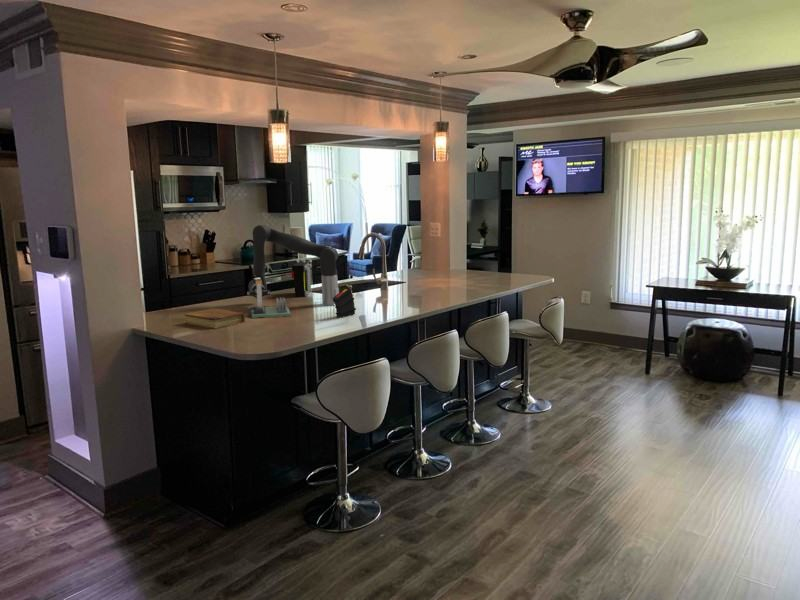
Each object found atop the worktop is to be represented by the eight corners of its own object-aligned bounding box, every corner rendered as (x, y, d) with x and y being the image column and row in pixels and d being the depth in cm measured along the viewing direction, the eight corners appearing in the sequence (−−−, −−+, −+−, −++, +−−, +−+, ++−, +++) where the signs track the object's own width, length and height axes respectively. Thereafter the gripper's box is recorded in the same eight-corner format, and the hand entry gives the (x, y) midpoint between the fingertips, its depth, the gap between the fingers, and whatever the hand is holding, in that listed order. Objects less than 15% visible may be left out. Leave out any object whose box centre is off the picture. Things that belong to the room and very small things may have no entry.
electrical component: (308, 297, 382) (306, 265, 378) (291, 297, 382) (290, 265, 378) (312, 292, 399) (311, 262, 395) (297, 292, 399) (296, 262, 396)
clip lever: (252, 311, 327) (250, 279, 324) (263, 310, 329) (262, 279, 326) (252, 312, 323) (251, 281, 320) (264, 312, 324) (262, 280, 321)
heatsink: (247, 311, 335) (247, 299, 334) (285, 309, 340) (284, 297, 339) (248, 317, 319) (247, 304, 318) (287, 315, 324) (286, 302, 323)
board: (251, 310, 338) (251, 308, 337) (287, 308, 343) (287, 306, 342) (252, 318, 317) (251, 315, 316) (290, 316, 322) (290, 313, 321)
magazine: (359, 310, 327) (350, 287, 319) (344, 324, 319) (334, 301, 312) (355, 310, 329) (345, 286, 322) (339, 323, 321) (329, 300, 314)
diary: (245, 323, 307) (244, 312, 306) (215, 330, 292) (214, 318, 291) (214, 318, 320) (214, 307, 319) (185, 324, 304) (184, 313, 303)
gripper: (270, 296, 344) (271, 301, 328) (246, 297, 341) (246, 302, 325) (270, 283, 343) (271, 287, 327) (245, 284, 340) (245, 288, 323)
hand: (258, 295), depth 326 cm, fingers closed
